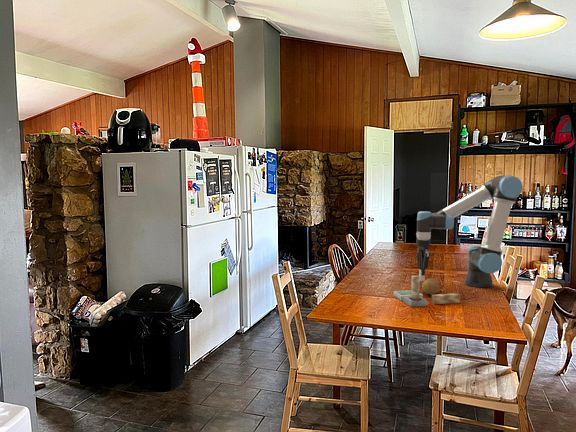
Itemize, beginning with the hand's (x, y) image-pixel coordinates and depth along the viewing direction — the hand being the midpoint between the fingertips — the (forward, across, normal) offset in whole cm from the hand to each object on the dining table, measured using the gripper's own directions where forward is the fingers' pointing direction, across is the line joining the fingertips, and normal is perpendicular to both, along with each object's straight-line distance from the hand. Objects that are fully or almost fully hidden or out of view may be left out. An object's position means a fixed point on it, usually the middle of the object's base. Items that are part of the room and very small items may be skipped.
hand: (421, 280), depth 256 cm
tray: (+5, +14, -14) cm, 21 cm away
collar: (+5, +25, -16) cm, 30 cm away
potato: (+5, +10, 0) cm, 11 cm away
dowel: (+5, +25, -16) cm, 30 cm away
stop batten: (+5, +26, 0) cm, 27 cm away
